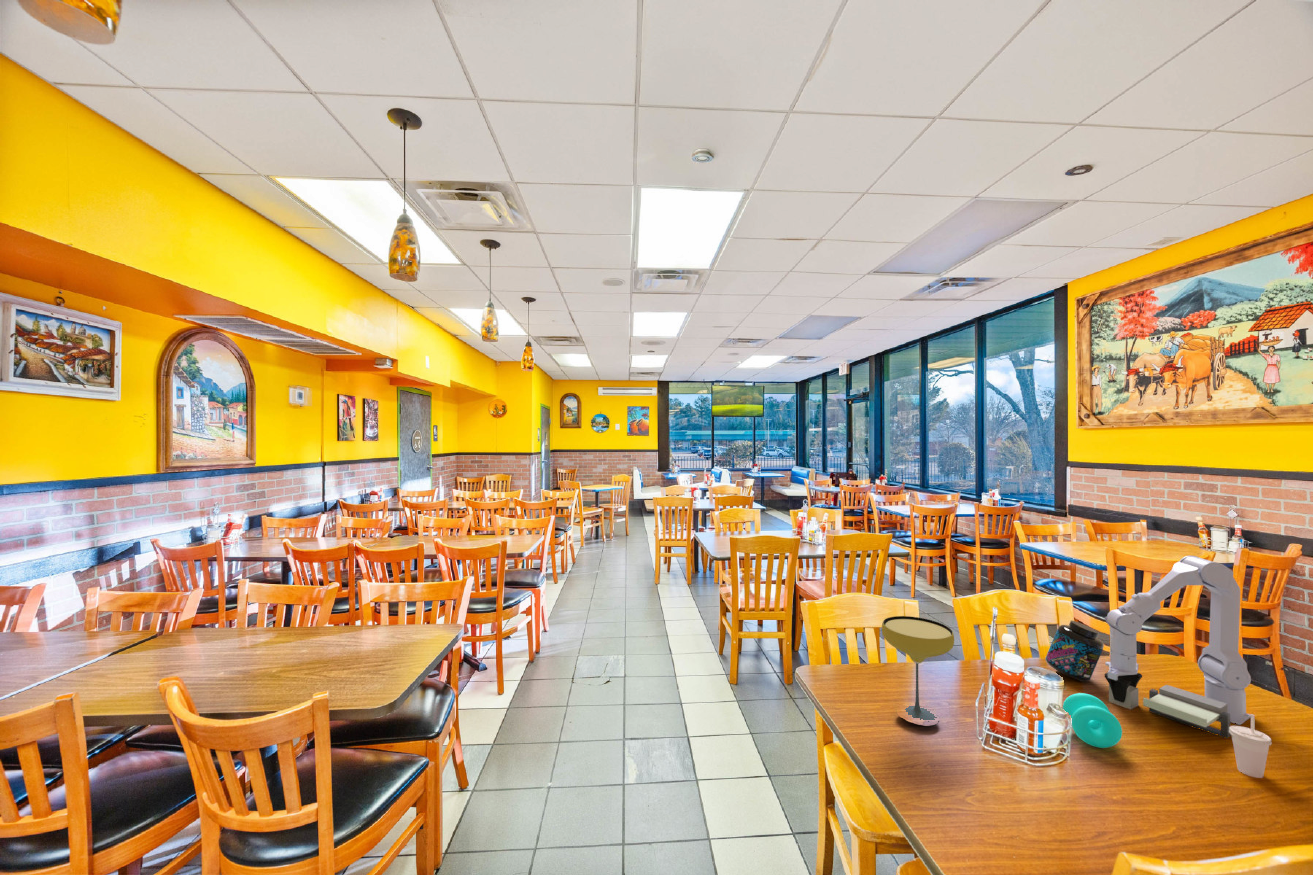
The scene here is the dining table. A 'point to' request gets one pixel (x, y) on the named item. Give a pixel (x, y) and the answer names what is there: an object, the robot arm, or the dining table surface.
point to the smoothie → (1250, 749)
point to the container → (1075, 650)
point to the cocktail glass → (918, 646)
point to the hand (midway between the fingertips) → (1123, 698)
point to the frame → (1224, 724)
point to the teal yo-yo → (1093, 720)
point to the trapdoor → (1186, 705)
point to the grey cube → (1130, 699)
